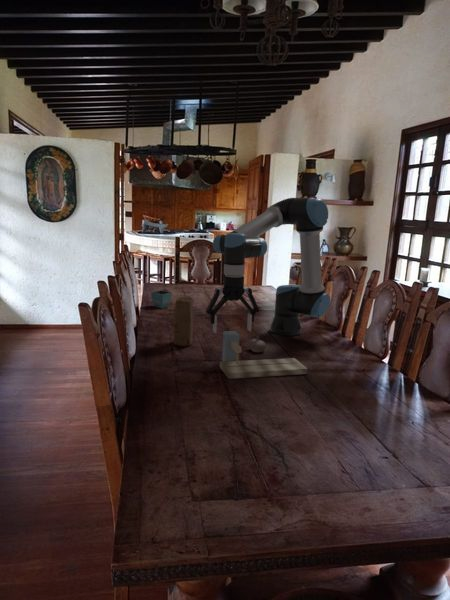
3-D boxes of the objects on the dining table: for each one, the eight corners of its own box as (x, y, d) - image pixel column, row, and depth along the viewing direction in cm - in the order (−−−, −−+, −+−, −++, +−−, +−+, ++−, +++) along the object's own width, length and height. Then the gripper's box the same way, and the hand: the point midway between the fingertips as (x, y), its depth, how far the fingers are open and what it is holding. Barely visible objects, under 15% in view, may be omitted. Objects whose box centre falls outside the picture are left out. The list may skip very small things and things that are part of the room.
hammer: (234, 360, 177) (235, 330, 174) (244, 372, 165) (246, 340, 162) (221, 361, 176) (223, 331, 173) (231, 373, 163) (232, 341, 161)
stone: (189, 347, 191) (191, 301, 187) (172, 346, 191) (173, 300, 187) (194, 340, 201) (195, 296, 197) (177, 339, 202) (178, 295, 198)
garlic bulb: (257, 347, 196) (258, 329, 194) (270, 351, 191) (271, 332, 189) (245, 350, 191) (246, 331, 189) (258, 354, 186) (259, 335, 184)
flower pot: (172, 307, 266) (172, 292, 264) (162, 309, 258) (162, 294, 256) (160, 305, 270) (160, 290, 268) (150, 307, 263) (150, 292, 261)
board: (293, 362, 177) (294, 357, 177) (307, 373, 166) (307, 368, 165) (219, 366, 169) (219, 361, 169) (228, 378, 158) (228, 372, 157)
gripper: (262, 273, 174) (259, 326, 178) (198, 274, 167) (197, 329, 172) (269, 276, 167) (266, 332, 171) (203, 277, 160) (202, 335, 165)
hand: (232, 331), depth 172 cm, fingers open, 13 cm apart
